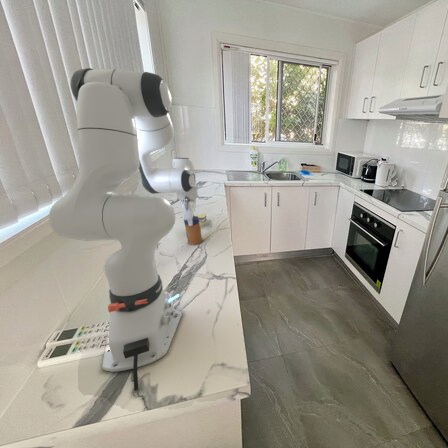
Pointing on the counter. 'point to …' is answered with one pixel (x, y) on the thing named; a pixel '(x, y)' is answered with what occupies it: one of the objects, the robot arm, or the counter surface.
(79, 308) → the counter surface
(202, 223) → the stacked layers on plate
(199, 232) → the jar
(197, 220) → the lid
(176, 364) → the counter surface
